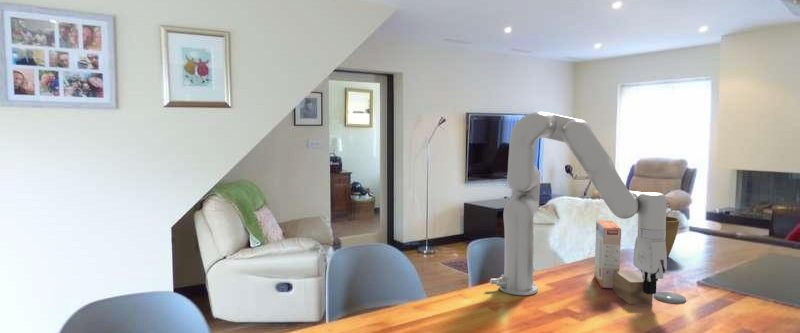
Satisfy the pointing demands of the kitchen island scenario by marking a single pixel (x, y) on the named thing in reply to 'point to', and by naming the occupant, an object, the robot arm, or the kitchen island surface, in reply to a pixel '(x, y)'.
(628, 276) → the brown block
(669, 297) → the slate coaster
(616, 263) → the cracker box
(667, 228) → the plant pot
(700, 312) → the kitchen island surface
